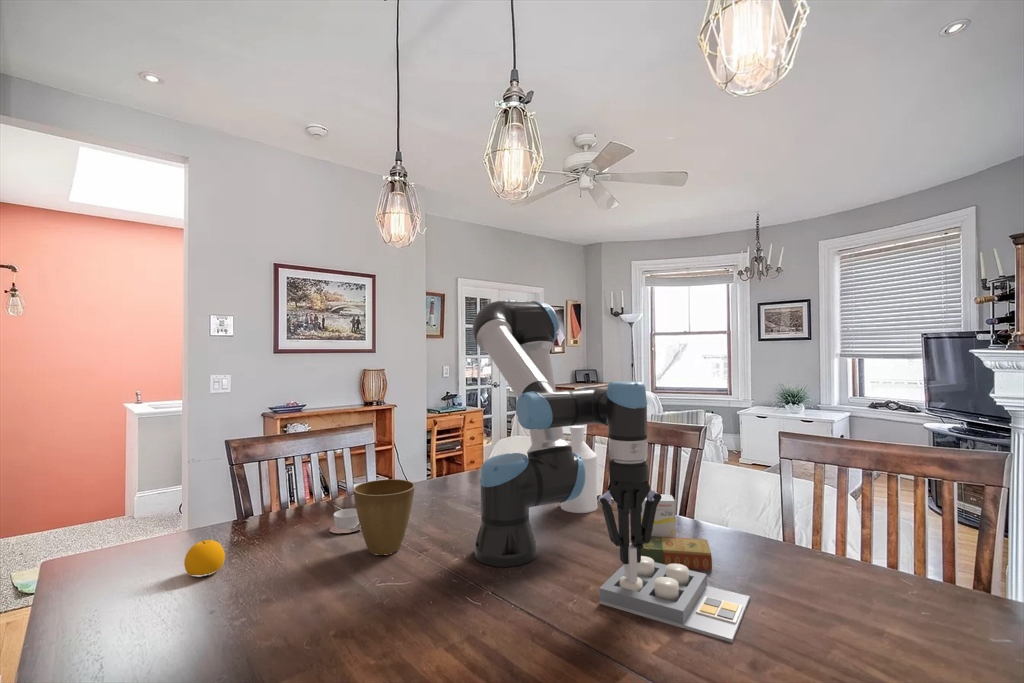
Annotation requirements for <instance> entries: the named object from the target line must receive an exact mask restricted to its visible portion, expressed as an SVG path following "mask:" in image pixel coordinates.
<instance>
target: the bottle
mask: <svg viewBox="0 0 1024 683" xmlns="http://www.w3.org/2000/svg"><path fill="white" fill-rule="evenodd" d="M585 430H586V429H585V425H576V426H569V432H570V438H571V440H570V442H568V443H569V444H570V445H571V447H572V452H574V453H576V454H578V455H579V456H580V457H581V460H583V463H584V466H585V484H584V488H583V489H582V492H581V494H580V495H579V496H578V497H577V498H575V499H573V500H569V501H566V502H562V503H560V508H561V510H563V511H565V512H568V513H574V514H587V513H592V512H594V511H596V510H597V509H598V500H597V496H598V455H597V453H596V452H595V451H594V450H592V449H591V447H589V445H588V444H587V443H586V442H585V441H584V440H585V437H584V434H585Z"/></svg>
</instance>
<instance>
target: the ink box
mask: <svg viewBox="0 0 1024 683" xmlns="http://www.w3.org/2000/svg"><path fill="white" fill-rule="evenodd" d="M659 494H660V495H661V500H660V502H659V503H658V505H657V508H656V513H655V518H654V524H653V529H652V534H651V536H658V537H673V538H677V526H676V525H677V523H676V522H677V520H676V516H677V514H676V500H675V498H674V496H673V495H672V494H663V493H662V494H661V493H659ZM646 500H647V498H645V500H644V501H643V503H642V512H641V524H642V519H643V514H644V509H645V504H646Z"/></svg>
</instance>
